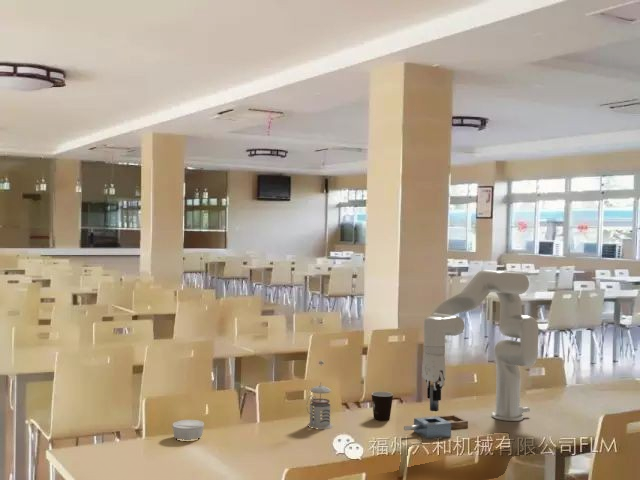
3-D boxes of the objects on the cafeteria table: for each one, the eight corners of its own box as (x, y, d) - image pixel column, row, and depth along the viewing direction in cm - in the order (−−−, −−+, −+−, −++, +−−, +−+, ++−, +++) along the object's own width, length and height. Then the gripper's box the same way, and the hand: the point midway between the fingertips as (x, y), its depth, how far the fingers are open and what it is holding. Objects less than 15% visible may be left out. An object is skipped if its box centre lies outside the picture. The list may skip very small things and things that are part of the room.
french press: (338, 426, 272) (339, 361, 272) (317, 431, 264) (318, 364, 264) (319, 421, 279) (320, 357, 279) (298, 426, 271) (299, 361, 270)
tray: (454, 420, 284) (454, 414, 284) (467, 427, 274) (467, 421, 274) (427, 422, 279) (427, 417, 279) (440, 429, 270) (440, 423, 270)
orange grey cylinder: (428, 409, 265) (428, 377, 265) (435, 408, 266) (435, 376, 266) (432, 411, 262) (432, 379, 262) (440, 410, 263) (440, 378, 263)
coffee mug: (391, 422, 279) (391, 397, 279) (369, 420, 281) (370, 395, 281) (394, 415, 290) (394, 390, 290) (373, 413, 292) (373, 389, 292)
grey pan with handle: (437, 429, 271) (437, 416, 270) (450, 436, 261) (451, 423, 261) (398, 432, 265) (398, 419, 265) (411, 440, 255) (411, 426, 255)
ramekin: (177, 444, 245) (177, 429, 245) (168, 436, 255) (168, 421, 255) (208, 440, 250) (208, 425, 250) (198, 432, 260) (198, 418, 260)
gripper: (414, 347, 270) (414, 395, 271) (436, 354, 255) (436, 405, 255) (432, 345, 273) (431, 393, 273) (454, 353, 257) (454, 403, 258)
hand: (434, 398), depth 264 cm, fingers closed on orange grey cylinder, 3 cm apart
